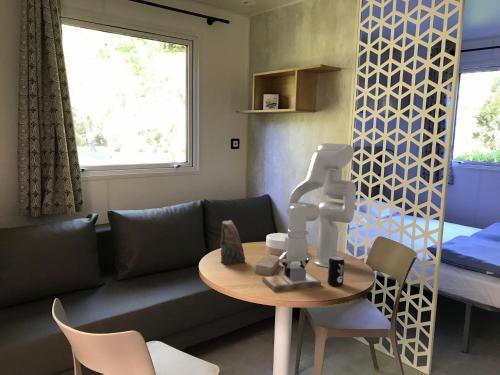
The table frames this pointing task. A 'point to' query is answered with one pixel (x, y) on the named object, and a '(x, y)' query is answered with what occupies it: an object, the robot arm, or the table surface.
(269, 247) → the bowl
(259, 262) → the brick
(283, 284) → the board
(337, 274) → the beverage can
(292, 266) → the block
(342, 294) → the table surface
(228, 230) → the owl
